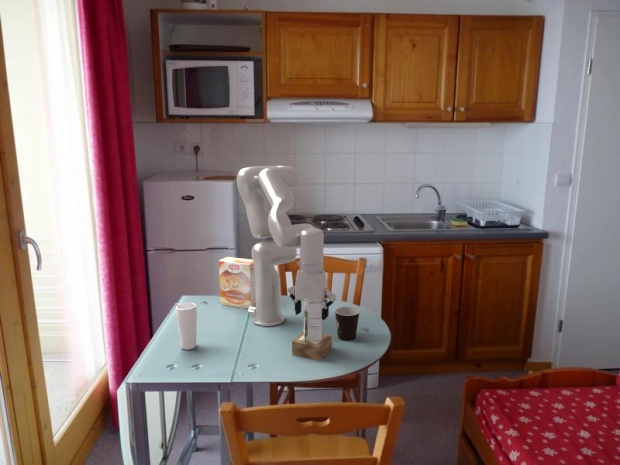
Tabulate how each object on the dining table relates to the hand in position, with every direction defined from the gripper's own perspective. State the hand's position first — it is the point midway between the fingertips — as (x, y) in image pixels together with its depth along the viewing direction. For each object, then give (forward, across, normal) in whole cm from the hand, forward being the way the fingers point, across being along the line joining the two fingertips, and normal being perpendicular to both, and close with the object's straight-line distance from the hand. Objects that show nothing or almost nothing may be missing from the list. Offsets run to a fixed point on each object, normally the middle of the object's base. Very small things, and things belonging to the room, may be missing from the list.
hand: (311, 315), depth 163 cm
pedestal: (+13, 0, 0) cm, 13 cm away
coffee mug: (+13, +6, +17) cm, 22 cm away
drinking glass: (+13, -40, -15) cm, 44 cm away
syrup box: (+8, +1, 0) cm, 8 cm away
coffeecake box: (+14, -46, +27) cm, 55 cm away
